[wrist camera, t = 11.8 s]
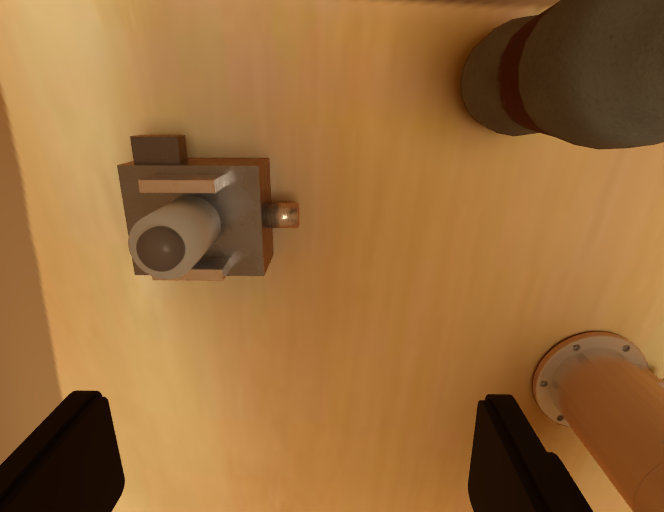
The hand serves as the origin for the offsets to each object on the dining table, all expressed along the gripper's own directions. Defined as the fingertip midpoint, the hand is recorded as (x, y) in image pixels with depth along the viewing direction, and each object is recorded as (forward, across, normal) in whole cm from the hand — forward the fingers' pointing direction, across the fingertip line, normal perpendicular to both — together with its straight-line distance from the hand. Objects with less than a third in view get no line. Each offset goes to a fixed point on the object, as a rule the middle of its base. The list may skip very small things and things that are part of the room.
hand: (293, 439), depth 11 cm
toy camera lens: (+27, +12, +1) cm, 30 cm away
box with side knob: (+33, +10, 0) cm, 35 cm away
